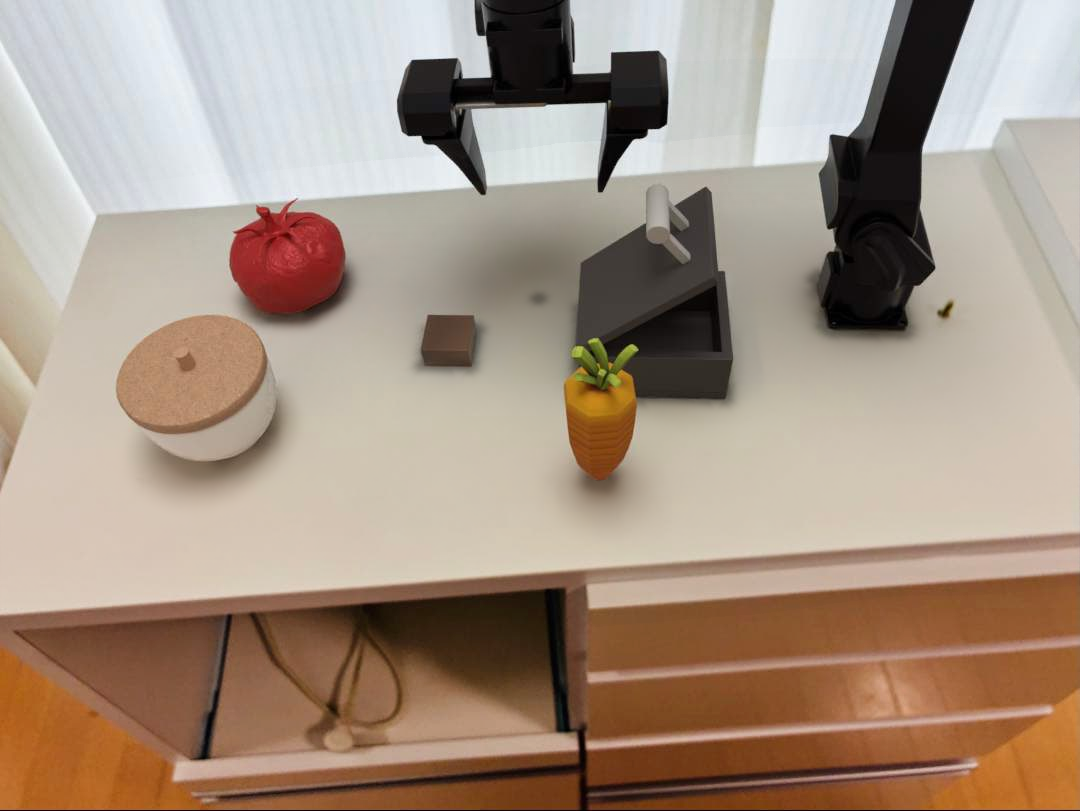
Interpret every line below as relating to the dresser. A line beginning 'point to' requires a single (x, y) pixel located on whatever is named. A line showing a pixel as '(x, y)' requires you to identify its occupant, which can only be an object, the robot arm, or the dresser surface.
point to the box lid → (649, 267)
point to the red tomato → (287, 260)
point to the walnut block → (449, 340)
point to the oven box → (681, 349)
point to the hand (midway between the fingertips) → (541, 190)
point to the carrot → (600, 409)
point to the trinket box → (199, 387)
